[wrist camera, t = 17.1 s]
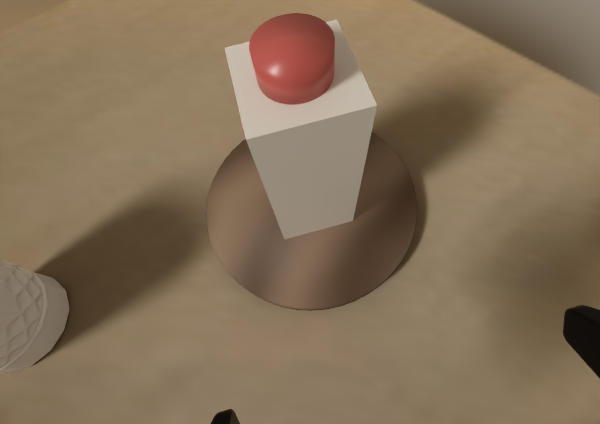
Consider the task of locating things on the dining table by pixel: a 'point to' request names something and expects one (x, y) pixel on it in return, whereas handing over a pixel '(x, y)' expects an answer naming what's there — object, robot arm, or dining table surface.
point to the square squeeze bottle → (304, 119)
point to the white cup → (28, 316)
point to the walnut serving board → (312, 234)
